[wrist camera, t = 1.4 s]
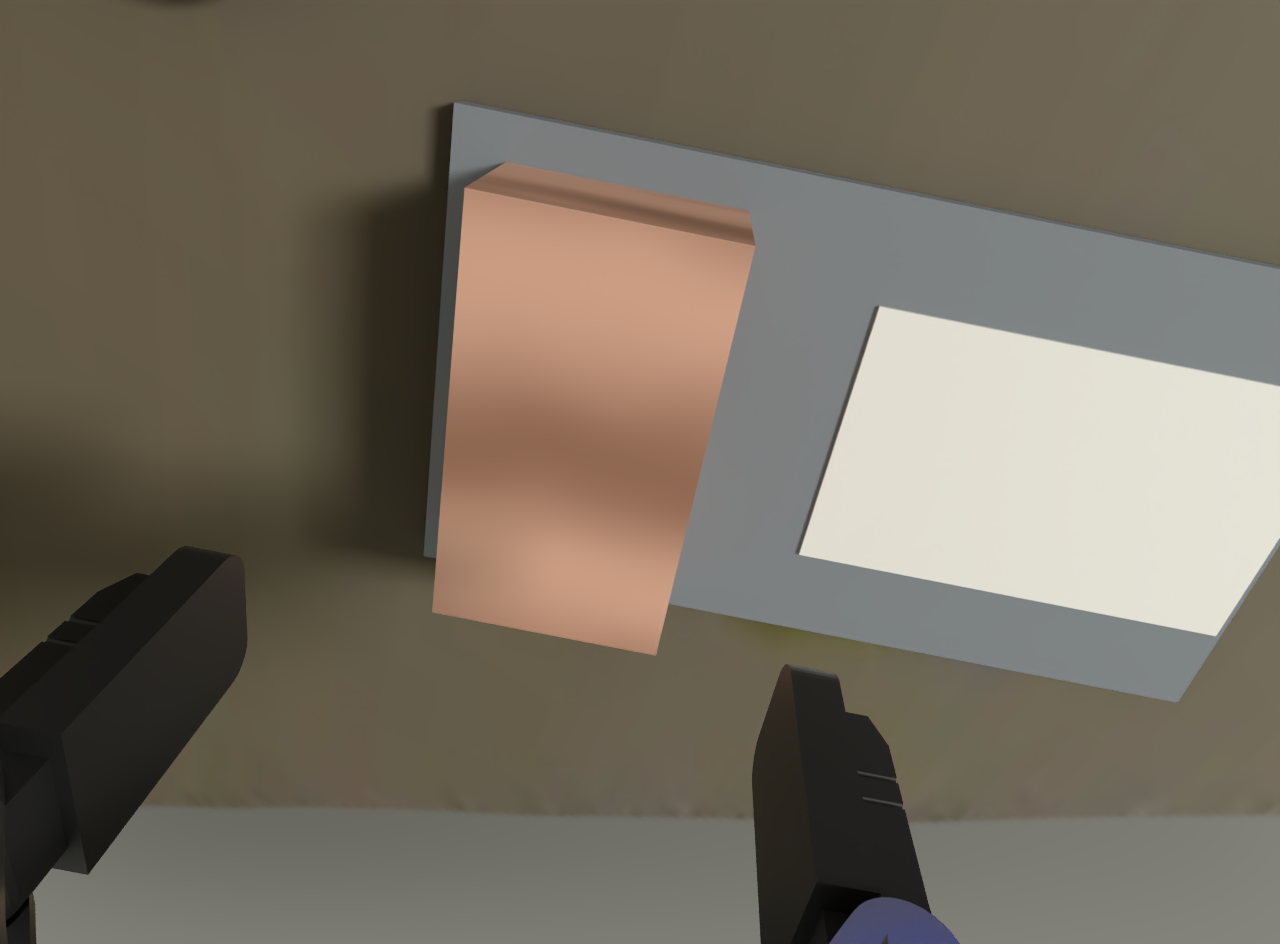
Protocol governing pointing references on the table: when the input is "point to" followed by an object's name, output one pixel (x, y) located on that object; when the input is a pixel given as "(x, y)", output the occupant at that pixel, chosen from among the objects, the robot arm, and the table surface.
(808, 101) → the table surface
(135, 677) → the robot arm
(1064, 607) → the mat
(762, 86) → the table surface
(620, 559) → the block
